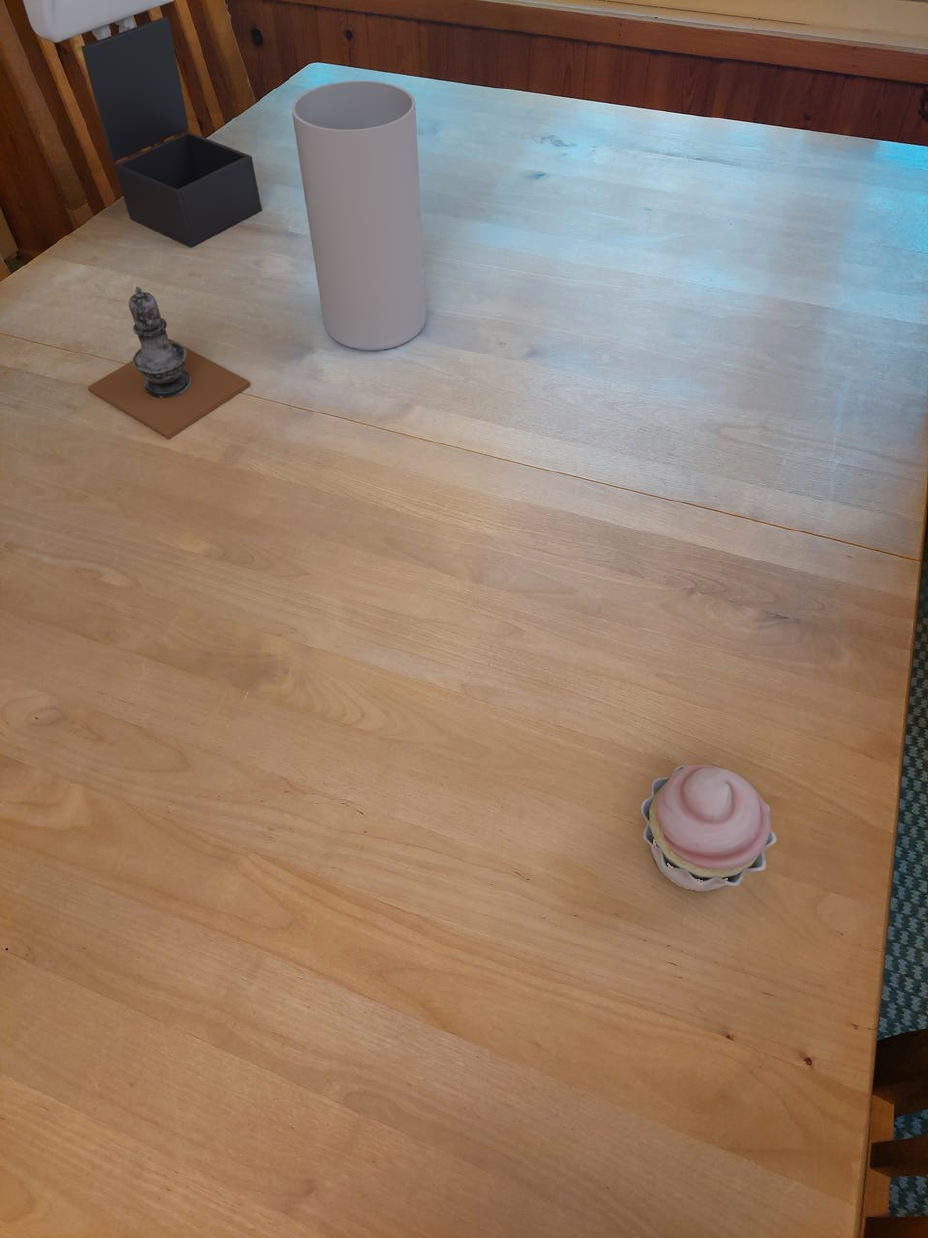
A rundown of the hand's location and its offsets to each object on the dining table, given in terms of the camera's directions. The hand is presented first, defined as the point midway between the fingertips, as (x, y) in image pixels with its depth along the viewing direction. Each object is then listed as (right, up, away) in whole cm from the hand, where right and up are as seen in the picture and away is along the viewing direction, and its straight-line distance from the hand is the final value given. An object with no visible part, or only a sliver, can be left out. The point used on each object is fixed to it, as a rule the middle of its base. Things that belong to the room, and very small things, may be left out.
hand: (122, 59), depth 118 cm
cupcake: (+62, -91, -51) cm, 121 cm away
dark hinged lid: (+2, -3, +1) cm, 4 cm away
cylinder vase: (+34, -37, -7) cm, 51 cm away
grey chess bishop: (+11, -47, -15) cm, 50 cm away
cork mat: (+11, -47, -15) cm, 51 cm away
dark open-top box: (+7, -16, +11) cm, 20 cm away
